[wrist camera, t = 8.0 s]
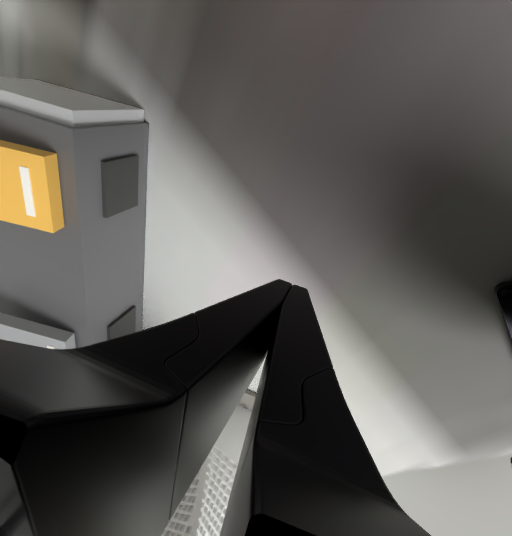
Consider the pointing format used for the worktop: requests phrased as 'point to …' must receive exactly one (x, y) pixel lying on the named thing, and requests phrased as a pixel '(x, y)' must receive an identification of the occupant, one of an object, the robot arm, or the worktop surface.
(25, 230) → the grey switch box
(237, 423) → the skyscraper
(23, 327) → the rocker outlet
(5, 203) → the rocker outlet
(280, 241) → the worktop surface
